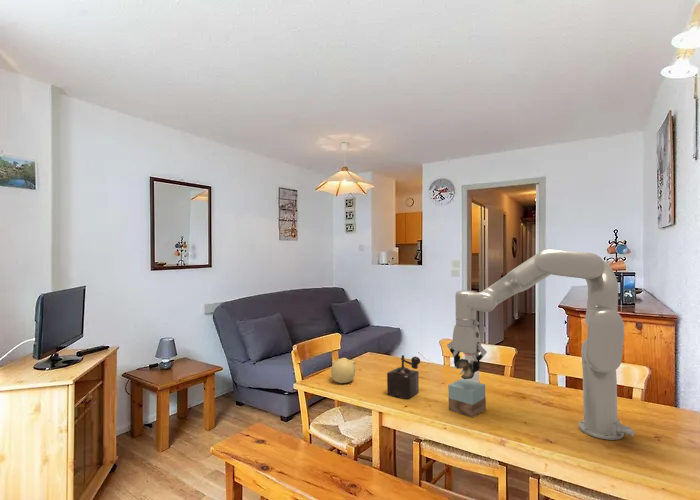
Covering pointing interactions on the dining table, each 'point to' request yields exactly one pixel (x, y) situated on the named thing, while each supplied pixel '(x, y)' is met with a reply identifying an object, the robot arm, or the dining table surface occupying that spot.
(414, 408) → the dining table surface
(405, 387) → the manual coffee grinder
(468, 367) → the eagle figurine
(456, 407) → the tower base
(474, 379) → the pepper shaker
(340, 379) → the sculpture
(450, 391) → the tower top
